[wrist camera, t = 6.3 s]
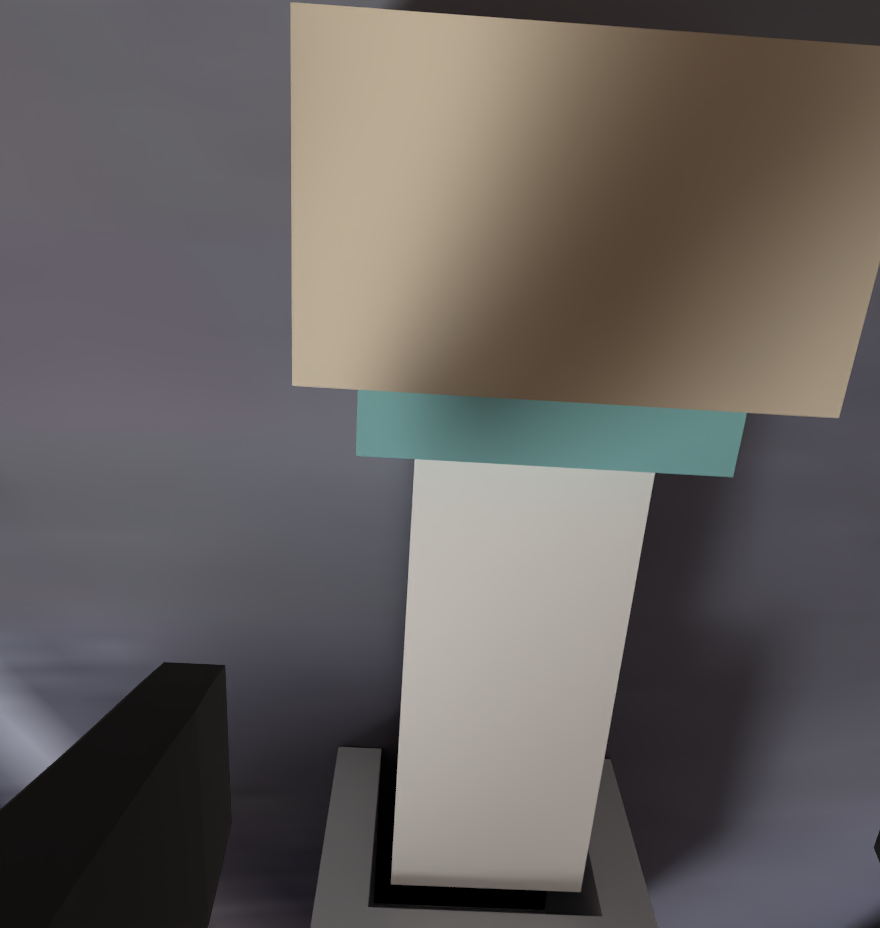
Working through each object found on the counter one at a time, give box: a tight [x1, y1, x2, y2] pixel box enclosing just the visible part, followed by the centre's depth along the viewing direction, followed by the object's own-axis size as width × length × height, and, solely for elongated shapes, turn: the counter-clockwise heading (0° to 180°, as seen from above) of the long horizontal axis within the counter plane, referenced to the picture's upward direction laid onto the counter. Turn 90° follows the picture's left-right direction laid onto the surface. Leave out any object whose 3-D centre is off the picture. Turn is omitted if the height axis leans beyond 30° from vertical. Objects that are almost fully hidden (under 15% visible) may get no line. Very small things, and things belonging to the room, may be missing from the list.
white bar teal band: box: [356, 390, 747, 892], centre depth 14 cm, size 5×12×4 cm, turn 176°
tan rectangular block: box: [291, 2, 880, 418], centre depth 12 cm, size 7×4×6 cm, turn 86°
